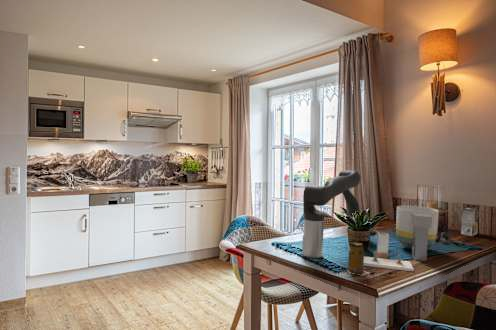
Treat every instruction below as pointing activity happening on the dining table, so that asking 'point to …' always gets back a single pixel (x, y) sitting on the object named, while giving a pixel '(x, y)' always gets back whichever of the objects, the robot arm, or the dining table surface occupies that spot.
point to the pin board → (388, 263)
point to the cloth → (446, 240)
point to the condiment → (356, 258)
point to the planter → (406, 227)
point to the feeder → (420, 235)
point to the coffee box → (469, 221)
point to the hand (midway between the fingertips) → (374, 237)
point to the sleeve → (382, 245)
